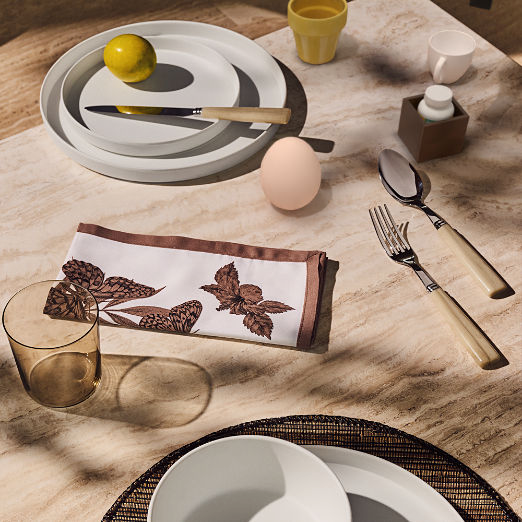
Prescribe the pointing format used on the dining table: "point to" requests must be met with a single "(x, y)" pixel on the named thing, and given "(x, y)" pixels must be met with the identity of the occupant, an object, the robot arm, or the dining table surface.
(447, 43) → the cup
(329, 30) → the flower pot
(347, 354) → the dining table surface
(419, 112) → the supplement bottle
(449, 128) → the brown square planter
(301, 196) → the egg
